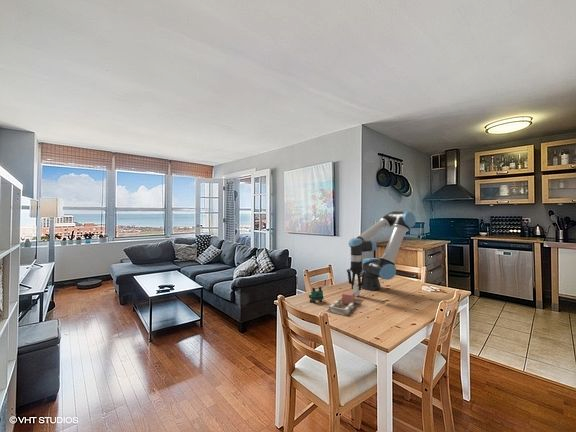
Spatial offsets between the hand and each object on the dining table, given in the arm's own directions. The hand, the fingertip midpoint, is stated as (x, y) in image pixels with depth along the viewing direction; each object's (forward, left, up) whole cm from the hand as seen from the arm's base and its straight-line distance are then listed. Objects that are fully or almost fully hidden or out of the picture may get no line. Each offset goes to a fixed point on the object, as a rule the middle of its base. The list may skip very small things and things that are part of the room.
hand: (356, 294), depth 180 cm
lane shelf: (+22, 0, -2) cm, 22 cm away
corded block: (+9, 0, -1) cm, 9 cm away
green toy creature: (+24, -20, -2) cm, 31 cm away
